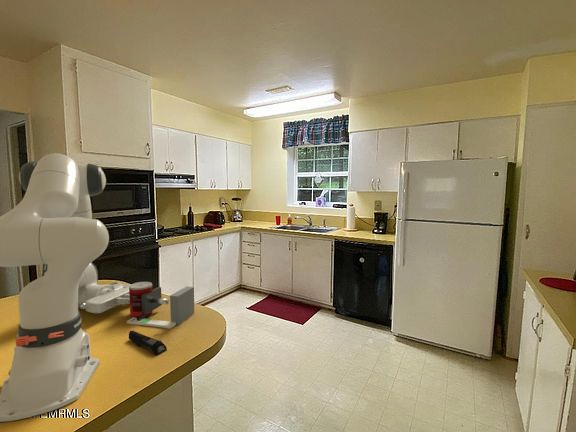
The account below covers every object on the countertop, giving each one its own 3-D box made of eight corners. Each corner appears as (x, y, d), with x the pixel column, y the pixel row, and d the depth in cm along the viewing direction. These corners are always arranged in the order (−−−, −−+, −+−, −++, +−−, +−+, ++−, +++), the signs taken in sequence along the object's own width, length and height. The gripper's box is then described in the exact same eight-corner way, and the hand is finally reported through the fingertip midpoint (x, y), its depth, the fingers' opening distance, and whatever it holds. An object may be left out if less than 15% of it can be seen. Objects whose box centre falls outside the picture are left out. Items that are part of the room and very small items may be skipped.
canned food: (146, 307, 114) (145, 280, 113) (157, 313, 109) (156, 284, 108) (126, 314, 108) (125, 285, 107) (136, 320, 103) (135, 289, 102)
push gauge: (127, 323, 101) (125, 295, 100) (152, 308, 113) (151, 283, 112) (173, 329, 96) (172, 299, 96) (194, 313, 109) (193, 287, 108)
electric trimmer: (137, 337, 92) (137, 327, 92) (168, 351, 84) (167, 340, 84) (125, 342, 89) (125, 332, 89) (156, 357, 81) (155, 346, 80)
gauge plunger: (136, 320, 100) (135, 298, 99) (159, 306, 112) (158, 287, 111) (154, 322, 99) (153, 300, 98) (175, 308, 110) (174, 288, 110)
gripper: (75, 298, 101) (109, 301, 98) (121, 280, 121) (150, 283, 118) (76, 315, 102) (109, 320, 99) (121, 295, 122) (150, 298, 119)
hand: (132, 299), depth 109 cm, fingers closed, pressing on canned food
